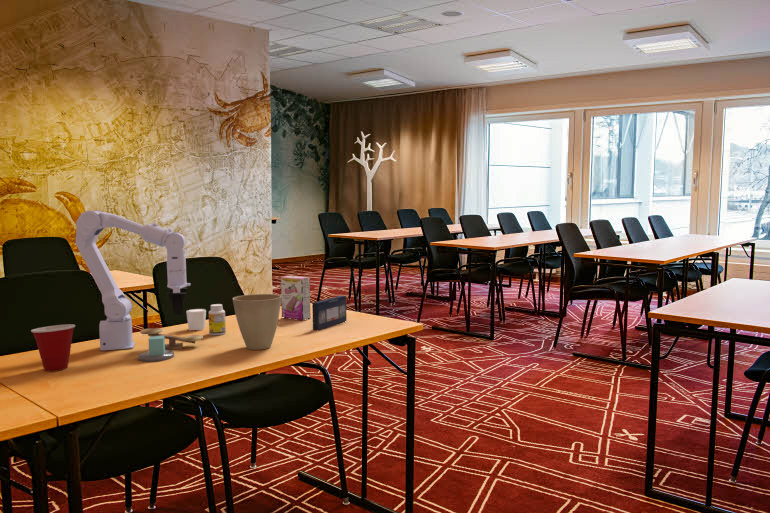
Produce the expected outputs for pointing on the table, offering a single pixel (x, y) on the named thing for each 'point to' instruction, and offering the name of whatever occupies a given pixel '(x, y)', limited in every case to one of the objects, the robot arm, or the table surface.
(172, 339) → the balance
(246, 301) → the plant pot
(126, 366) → the table surface
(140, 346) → the table surface
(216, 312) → the supplement bottle
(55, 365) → the plastic cup
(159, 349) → the block
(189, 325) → the white cup
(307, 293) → the candy bar box
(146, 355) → the dish
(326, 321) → the vhs cassette tape
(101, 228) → the robot arm
